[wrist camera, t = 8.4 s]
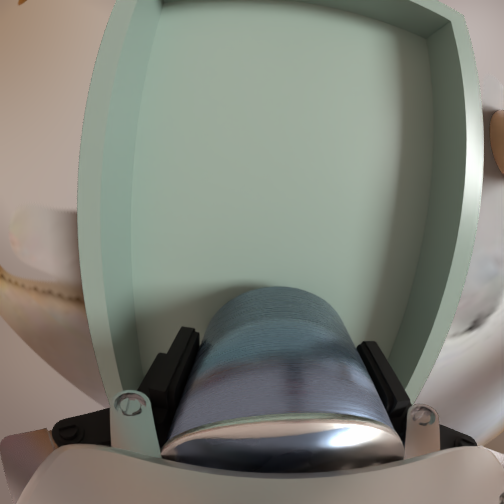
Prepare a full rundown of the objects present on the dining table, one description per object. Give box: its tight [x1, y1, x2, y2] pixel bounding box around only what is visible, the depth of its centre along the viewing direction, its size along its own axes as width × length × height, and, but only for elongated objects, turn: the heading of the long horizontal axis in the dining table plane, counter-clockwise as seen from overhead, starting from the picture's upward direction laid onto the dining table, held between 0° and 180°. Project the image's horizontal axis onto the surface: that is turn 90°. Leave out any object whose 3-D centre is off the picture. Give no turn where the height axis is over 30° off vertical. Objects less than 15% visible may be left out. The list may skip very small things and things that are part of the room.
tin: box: [160, 286, 405, 473], centre depth 8 cm, size 7×7×7 cm
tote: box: [77, 0, 484, 406], centre depth 11 cm, size 16×24×4 cm
